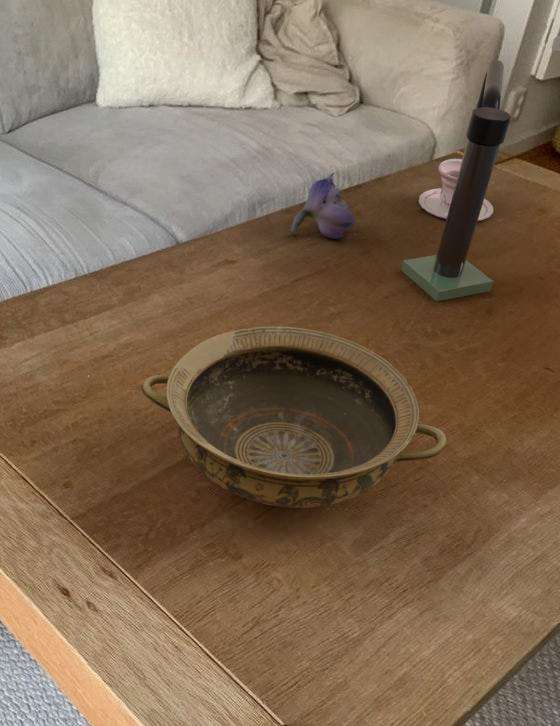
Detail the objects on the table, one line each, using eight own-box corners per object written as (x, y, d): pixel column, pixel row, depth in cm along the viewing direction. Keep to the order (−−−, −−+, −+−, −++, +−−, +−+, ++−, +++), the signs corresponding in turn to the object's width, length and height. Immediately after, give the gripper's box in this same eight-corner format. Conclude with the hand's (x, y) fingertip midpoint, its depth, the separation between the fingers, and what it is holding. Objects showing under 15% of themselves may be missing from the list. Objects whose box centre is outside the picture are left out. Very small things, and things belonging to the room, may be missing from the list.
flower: (295, 206, 116) (350, 165, 116) (271, 206, 123) (323, 167, 124) (325, 261, 120) (378, 222, 120) (300, 258, 127) (350, 220, 128)
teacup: (414, 188, 138) (423, 152, 134) (486, 195, 138) (496, 158, 134) (421, 220, 130) (431, 181, 125) (498, 226, 129) (510, 188, 125)
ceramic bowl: (436, 432, 90) (460, 356, 84) (415, 591, 73) (443, 513, 67) (177, 375, 96) (180, 300, 89) (101, 512, 79) (97, 432, 72)
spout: (485, 208, 105) (510, 122, 98) (449, 202, 106) (471, 116, 99) (493, 131, 126) (515, 56, 119) (463, 126, 127) (483, 51, 120)
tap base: (452, 261, 120) (491, 124, 107) (490, 291, 114) (536, 149, 101) (400, 270, 117) (433, 130, 104) (436, 301, 111) (476, 157, 98)
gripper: (655, 84, 101) (538, 71, 106) (654, 76, 117) (553, 66, 122) (674, 26, 98) (553, 15, 102) (671, 26, 114) (566, 17, 118)
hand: (553, 43), depth 112 cm, fingers closed
